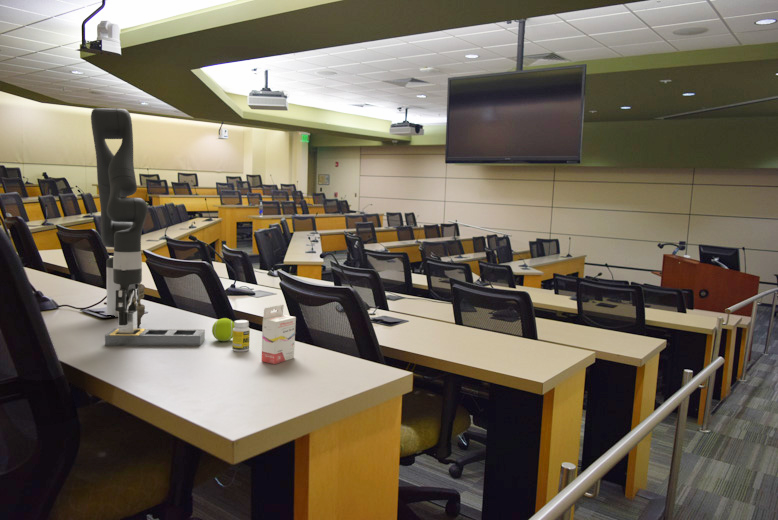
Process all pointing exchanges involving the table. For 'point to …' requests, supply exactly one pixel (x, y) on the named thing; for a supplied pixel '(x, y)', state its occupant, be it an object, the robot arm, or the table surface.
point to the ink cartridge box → (277, 335)
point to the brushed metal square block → (129, 324)
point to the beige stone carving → (140, 307)
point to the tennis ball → (223, 329)
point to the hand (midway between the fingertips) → (127, 321)
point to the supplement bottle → (241, 336)
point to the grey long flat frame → (156, 337)
